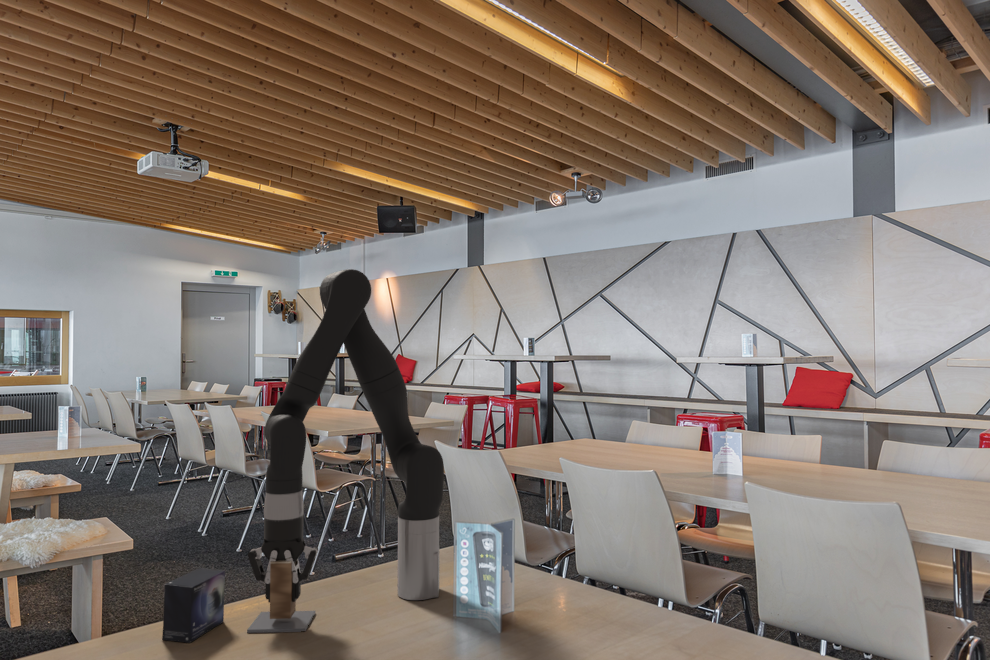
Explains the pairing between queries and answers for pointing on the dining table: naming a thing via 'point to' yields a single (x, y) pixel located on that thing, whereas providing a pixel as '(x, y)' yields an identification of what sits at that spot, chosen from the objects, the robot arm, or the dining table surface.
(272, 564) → the walnut block
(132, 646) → the dining table surface
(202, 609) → the small box
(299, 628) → the slate pad
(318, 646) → the dining table surface
